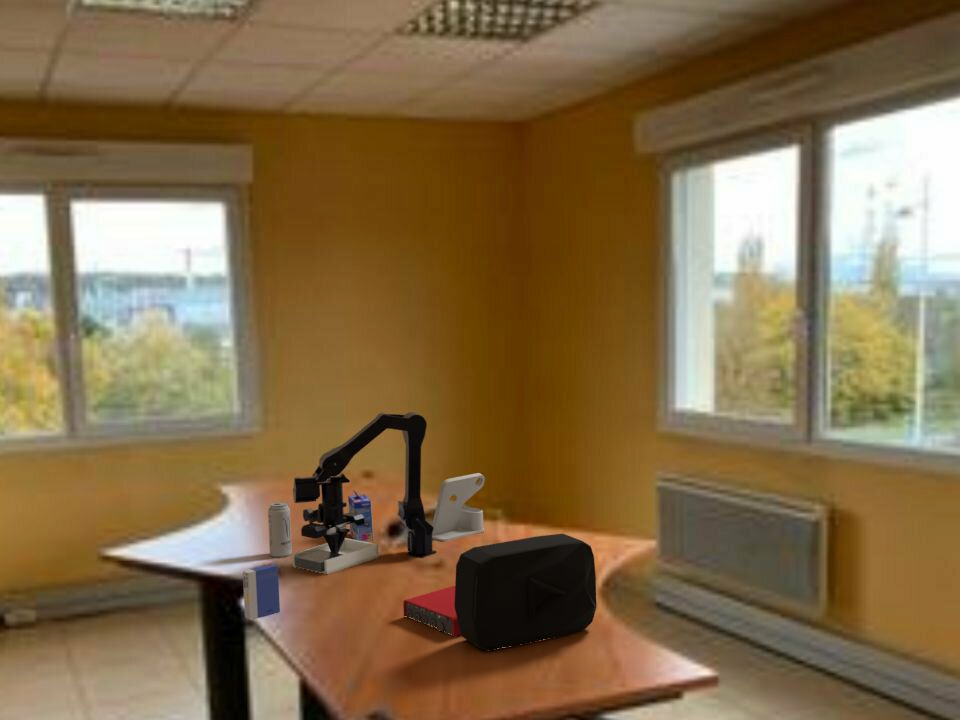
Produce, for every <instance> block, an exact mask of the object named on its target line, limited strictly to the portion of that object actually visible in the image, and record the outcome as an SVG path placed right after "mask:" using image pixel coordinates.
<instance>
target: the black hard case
mask: <svg viewBox="0 0 960 720" xmlns="http://www.w3.org/2000/svg"><path fill="white" fill-rule="evenodd" d="M595 565H596V564H595V555H594V553H593V549H592V546H591V545H589V544H588V543H587V542H585V541H583V540H581V539H578V538H576V537H573V536H570V535H569V534H566V533H556V534H547V535H546V534H545V535H539V536H537V535H536V536H533V537H532V536H531V537H526V538H519V539H515V540H507V541H503V542H497V543H491V544H484V545H479V546H473V547H472V548H470V549H468V550H465V551H464V552H463V553H461V554H460V555H459V558H458V560H457V563H456V565H455V585H454V586H455V604H454V607H455V611H456V616H457V620H458V624H459V628H460V633H461V637H462V638H463V639H465V640H466V641H468V642H470V643H471V644H473V645H474V646H476V647H477V648H479V649H482V650H484V651H485V650H493V651H495V650H494V649H497V648H502V647H509V646H515V647H517V646H516V645H520V644H525V643H530V642H535V641H539V640H543V639H548V638H552V639H554V638H553V637H556V638H559V637H558V636H560V637H563V636H562V635H564V636H568V635H571V634H574V633H576V632H579V631H581V630H585V629H587V628H588V627H589V626H590V625H591V624H592V623H593V621H594V618H595V614H596V610H597V606H598V605H597V581H596V580H597V576H596V566H595ZM567 634H568V635H567ZM548 640H549V639H548ZM535 643H536V642H535ZM530 644H531V643H530ZM525 645H526V644H525ZM520 646H521V645H520ZM509 648H510V647H509Z"/></svg>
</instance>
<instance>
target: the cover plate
mask: <svg viewBox="0 0 960 720" xmlns="http://www.w3.org/2000/svg"><path fill="white" fill-rule="evenodd" d="M341 555H344V554H340V553H335V552H330V551H325V550H320V549H319V550H316V551H313V552H309V553H306V554H303V555H300V556H297V557H295V566H296V567H300V568H305V569H309V570H314V571H318V572H323V571H325V565H324V561H325V560H328V559H331V558H335V557H338V556H341ZM296 567H295V568H296ZM300 568H299V569H300ZM309 570H308V571H309Z"/></svg>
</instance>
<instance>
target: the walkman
mask: <svg viewBox="0 0 960 720" xmlns="http://www.w3.org/2000/svg"><path fill="white" fill-rule="evenodd" d="M242 580H243V582H242V584H243V586H242V587H243V601H244V602H243V603H244V618H245V619H246V620H248V621H254V620H256V619H257V620H258V619H261V618H264V617H268V616H271V615H276V614H279V613H280V612H281V610H280V609H281V606H280V584H279V583H280V582H279V566H278V565H277V564H274V563H269V562H268V563H263V565H260V566H256V567H252V568H248V569H247V568H246V569H244V570H242ZM278 612H279V613H278ZM275 613H276V614H275Z"/></svg>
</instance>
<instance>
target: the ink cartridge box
mask: <svg viewBox="0 0 960 720" xmlns="http://www.w3.org/2000/svg"><path fill="white" fill-rule="evenodd" d="M352 491H353V492H354V494H353V495H352V494H351V495H348V496H347V498H348V513H349V512H353V513H359V514H362V515H363V516H364V522H365V524H363V525H360V526H356V525H355V524H354V523H350V524H349V529H350V532H349V533H350V534H349V535H350V536H351V537H352V538H353V540H358V541H363V542H368V541H369V540H370V541H374V528H373V526H374V523H373V512H372V509H373V508H372V500H371V499H370V498H369V497H368V496H367V495H365V494H362V493H361V494H358V493H357V492H356V491H355V489H352Z"/></svg>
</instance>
